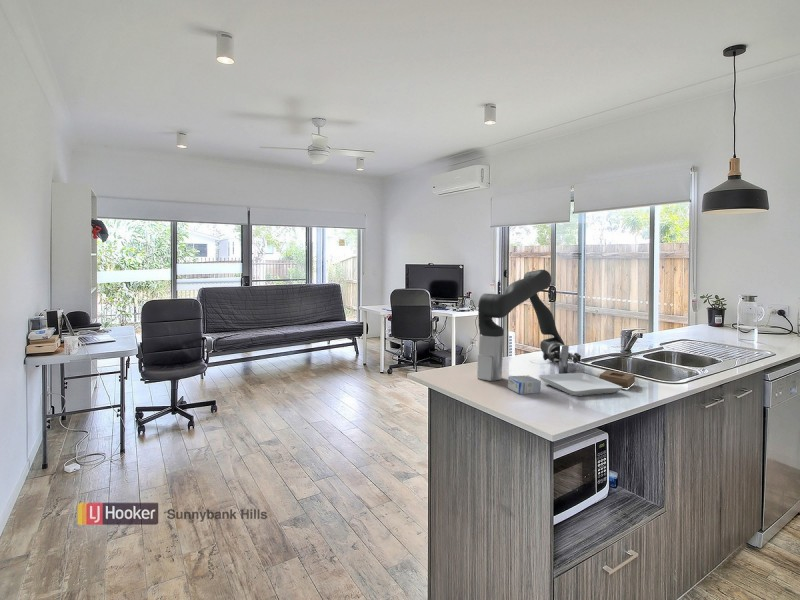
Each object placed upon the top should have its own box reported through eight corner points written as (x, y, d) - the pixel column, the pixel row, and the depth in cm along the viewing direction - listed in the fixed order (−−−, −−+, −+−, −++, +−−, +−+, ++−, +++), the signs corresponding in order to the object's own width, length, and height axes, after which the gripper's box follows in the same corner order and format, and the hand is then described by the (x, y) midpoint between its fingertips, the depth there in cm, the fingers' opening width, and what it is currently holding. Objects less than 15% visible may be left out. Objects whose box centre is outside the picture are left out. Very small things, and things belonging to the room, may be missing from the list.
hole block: (627, 390, 164) (627, 379, 164) (598, 385, 171) (599, 374, 170) (634, 384, 172) (635, 374, 171) (606, 380, 178) (607, 370, 178)
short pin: (576, 379, 180) (581, 377, 184) (579, 371, 180) (583, 369, 183) (569, 376, 182) (573, 373, 186) (571, 368, 182) (576, 366, 185)
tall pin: (565, 379, 178) (566, 346, 177) (557, 377, 180) (558, 345, 179) (568, 377, 181) (569, 345, 180) (560, 376, 183) (561, 344, 182)
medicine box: (528, 386, 166) (507, 388, 164) (529, 374, 166) (507, 376, 164) (540, 392, 159) (518, 394, 157) (541, 380, 158) (519, 381, 156)
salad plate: (624, 395, 159) (624, 386, 158) (573, 400, 152) (573, 390, 152) (583, 380, 179) (583, 371, 178) (536, 383, 172) (537, 374, 172)
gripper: (541, 342, 195) (546, 349, 179) (575, 344, 193) (584, 351, 177) (540, 360, 196) (545, 368, 180) (574, 361, 193) (583, 370, 177)
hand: (564, 360), depth 178 cm, fingers open, 8 cm apart
